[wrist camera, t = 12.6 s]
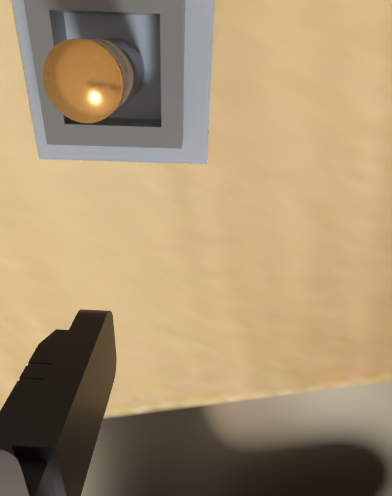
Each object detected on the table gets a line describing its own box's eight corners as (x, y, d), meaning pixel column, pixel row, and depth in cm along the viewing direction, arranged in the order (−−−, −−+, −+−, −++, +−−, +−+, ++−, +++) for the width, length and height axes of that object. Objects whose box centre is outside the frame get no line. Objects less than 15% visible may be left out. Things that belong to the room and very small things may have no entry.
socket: (215, -42, 26) (218, -55, 22) (206, 160, 32) (207, 175, 29) (9, -50, 25) (-21, -64, 22) (43, 155, 32) (24, 169, 29)
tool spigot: (143, 39, 27) (118, 39, 18) (145, 98, 29) (123, 124, 20) (88, 37, 27) (36, 37, 18) (93, 96, 29) (49, 122, 20)
